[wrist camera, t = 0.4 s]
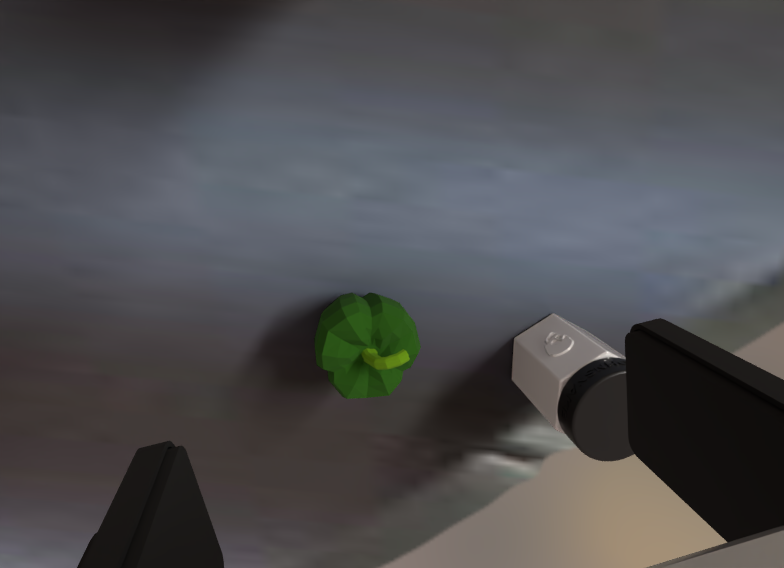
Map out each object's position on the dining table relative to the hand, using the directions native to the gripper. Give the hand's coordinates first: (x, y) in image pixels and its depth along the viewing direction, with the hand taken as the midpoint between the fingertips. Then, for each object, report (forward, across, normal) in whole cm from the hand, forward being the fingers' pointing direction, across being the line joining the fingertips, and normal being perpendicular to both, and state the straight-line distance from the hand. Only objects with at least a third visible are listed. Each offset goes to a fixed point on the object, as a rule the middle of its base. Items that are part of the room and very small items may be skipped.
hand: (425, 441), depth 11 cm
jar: (+35, -19, +19) cm, 44 cm away
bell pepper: (+35, -1, +11) cm, 37 cm away
